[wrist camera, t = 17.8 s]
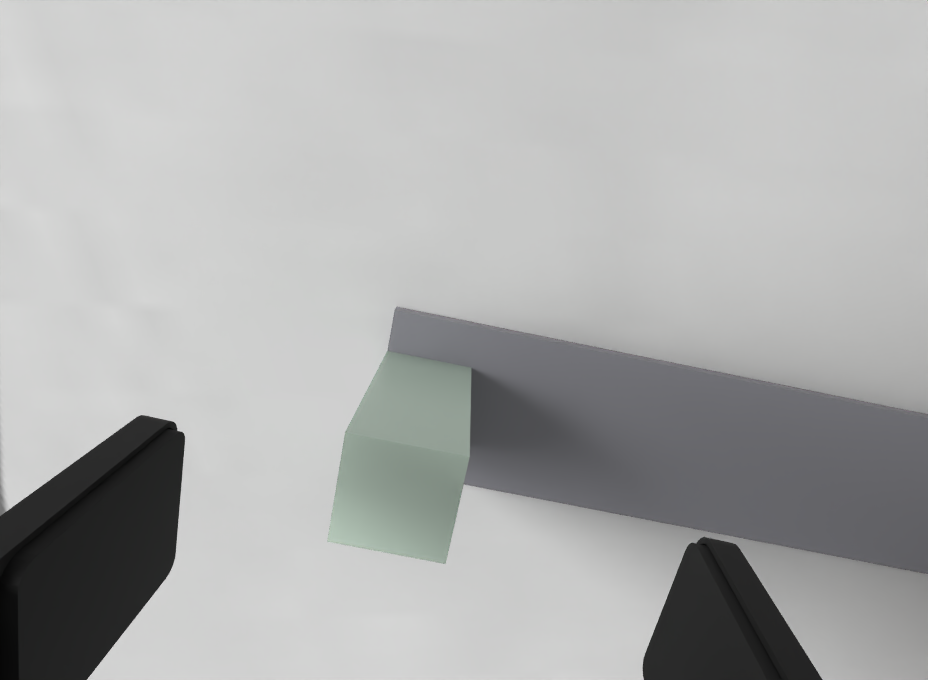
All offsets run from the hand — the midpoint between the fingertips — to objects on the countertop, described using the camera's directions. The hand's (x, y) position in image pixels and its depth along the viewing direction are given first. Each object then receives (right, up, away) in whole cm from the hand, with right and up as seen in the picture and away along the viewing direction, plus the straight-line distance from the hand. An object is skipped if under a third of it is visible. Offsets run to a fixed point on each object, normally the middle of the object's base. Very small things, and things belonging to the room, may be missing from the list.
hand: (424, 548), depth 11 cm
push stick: (+10, 0, +12) cm, 15 cm away
